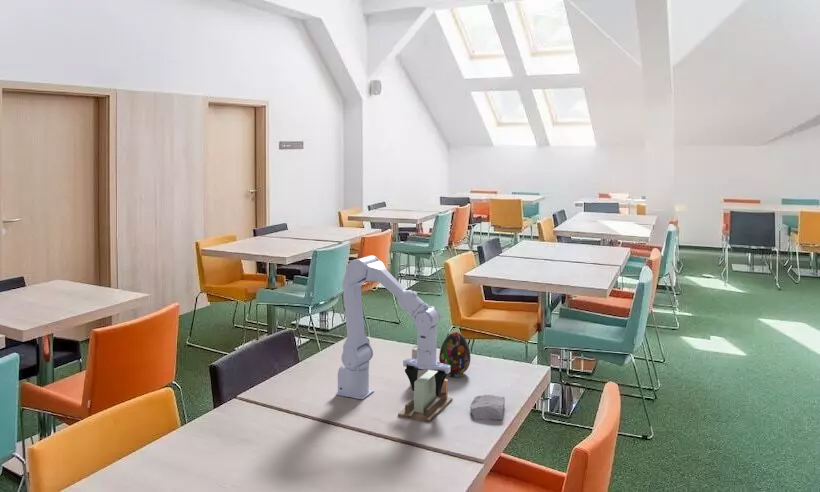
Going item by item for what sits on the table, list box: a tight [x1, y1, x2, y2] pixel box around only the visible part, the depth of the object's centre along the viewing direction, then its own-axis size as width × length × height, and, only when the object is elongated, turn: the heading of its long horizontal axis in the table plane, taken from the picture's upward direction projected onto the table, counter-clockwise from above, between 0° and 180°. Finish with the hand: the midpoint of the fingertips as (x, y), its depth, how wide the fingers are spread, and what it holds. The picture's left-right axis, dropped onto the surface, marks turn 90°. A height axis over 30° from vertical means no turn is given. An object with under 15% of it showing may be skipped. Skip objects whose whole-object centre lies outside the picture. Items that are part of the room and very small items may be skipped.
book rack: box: [397, 378, 453, 423], centre depth 193 cm, size 10×18×7 cm, turn 156°
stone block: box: [469, 394, 506, 421], centre depth 192 cm, size 12×5×10 cm
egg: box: [438, 330, 471, 378], centre depth 222 cm, size 11×11×15 cm
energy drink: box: [411, 345, 429, 379], centre depth 213 cm, size 5×5×12 cm
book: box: [413, 370, 438, 413], centre depth 193 cm, size 3×11×9 cm, turn 156°
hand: (426, 392), depth 193 cm, fingers open, 7 cm apart
